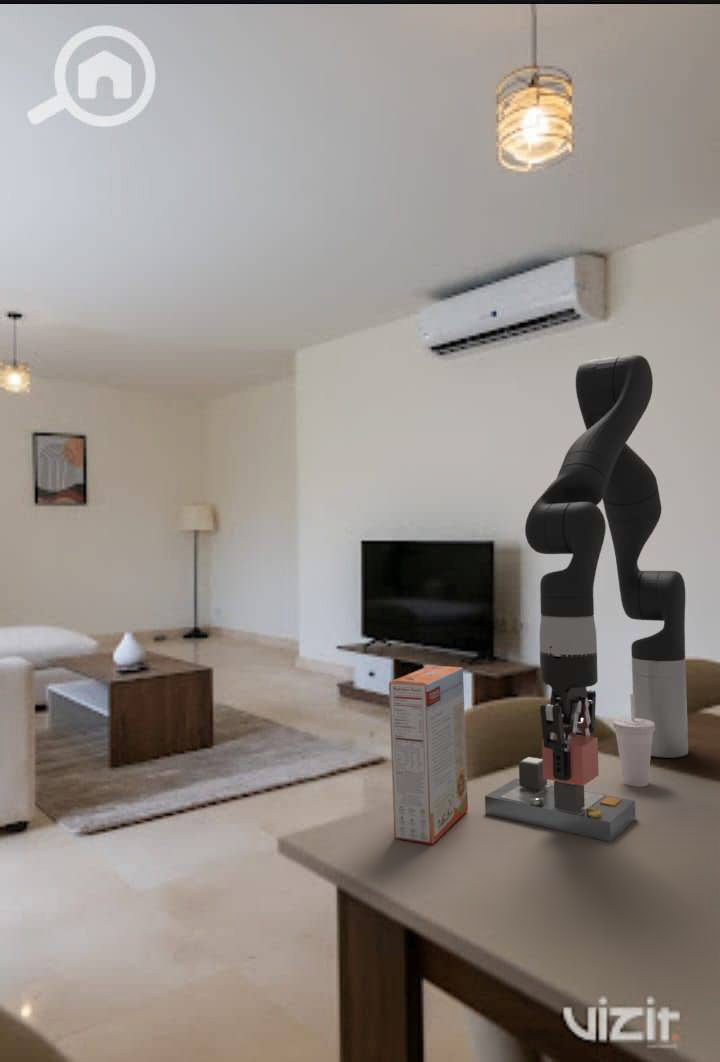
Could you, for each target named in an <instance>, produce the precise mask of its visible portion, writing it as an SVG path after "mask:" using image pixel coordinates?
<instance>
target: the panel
mask: <svg viewBox="0 0 720 1062" xmlns="http://www.w3.org/2000/svg"><path fill="white" fill-rule="evenodd" d="M584 803H585V806H584V807H583V808H582V809H581V810H579V811H578V812H577V813H574V812H570V811H565V810H560V809H555V807H554V784H548V783H547V785H545V786H544V787H542V788H541V789H539V790H537V789H532V788H527V787H522V786H519V778H514V779H513V780H510V781H509V782H507V783H506V784H504V785H502V786H501V787H498V788H497V789H495V790H493V791H491V792H490V793H488V794H486V795H484V812H485V815H490V816H495V817H499V818H503V819H507V820H512V821H516V822H521V823H525V824H529V825H535V826H539V827H543V828H546V829H552V830H556V831H561V832H566V833H571V834H575V835H577V836H578V835H579V836H582V837H588V838H592V839H596V840H600V841H606V842H609V843H611V842H612V841H613V840H614V839H616V838H617V837H618V836H619V835H620V834H621V833H622V832H623V831H624V830H626V829H627V827H628V826H630V825H631V824H632V823H633V822H634V821H635V820H636V816H637V815H636V800H634V799H627V798H622V797H617V796H611V795H607V794H600V793H596V792H591V791H585V790H584Z"/></svg>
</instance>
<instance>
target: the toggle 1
mask: <svg viewBox="0 0 720 1062" xmlns="http://www.w3.org/2000/svg"><path fill="white" fill-rule="evenodd" d="M518 774H519V775H518V777H519V778H518V779H519V786H522V787H527V788H532V789H537V790H539V789H541V788H542V787H544V786H545V785H547V784H548V779H543V759H542V758H538V757H532V756H528V757H526V758H523V759H522V760H521V761H519V762H518Z"/></svg>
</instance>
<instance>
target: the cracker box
mask: <svg viewBox="0 0 720 1062" xmlns="http://www.w3.org/2000/svg"><path fill="white" fill-rule="evenodd" d="M464 687H465V686H464V668H463V667H462V666H461V667H459V666H445V665H429V666H425V667H424V668H420V669H418V670H415V671H413V672H409V673H408V674H406V675H403V676H401V677H398V678H396V679H393V680H390V681H389V683H388V694H389V698H388V699H389V722H390V747H391V748H390V749H391V752H390V753H391V755H390V756H391V780H392V782H391V783H392V803H393V804H392V807H393V809H392V810H393V837H394V839H396V840H397V839H398V840H403V841H410V842H415V843H421V844H426V845H433V844H435V843H436V842H437V841H438V840H439V839H440V838H441V837H442V836H443V835H444V834H445V833H446V832H447V831H448V830H449V829H450V828H451V827H453V825H454V824H455V823H456V822H457V821H458V820H460V819H461V817H462V816H463V815H464V814H465V813H467V812H468V809H469V805H468V802H469V801H468V800H469V799H468V776H467V775H468V773H467V746H466V718H465V717H466V716H465V691H464V690H465V688H464Z"/></svg>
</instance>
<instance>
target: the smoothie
mask: <svg viewBox="0 0 720 1062" xmlns="http://www.w3.org/2000/svg"><path fill="white" fill-rule="evenodd" d="M629 695H630V696H629V697H630V717H625V718H624V717H623V718H621V717H620V718H616V719H614V720H613V721H612V722H613V724H612V728H613V729H614V730H615V737H616V742H617V748H618V755H619V763H620V768H621V769H620V770H621V775H622V783H623V784H624V785H627V786H631V787H638V788H639V787H646V786H648V785H649V779H650V778H649V775H650V765H651V758H652V756H651V748H652V738H653V731H655V723H654V722H652V721H649V720H645V719H638V718H635V714H634V694H633V693H630V694H629Z"/></svg>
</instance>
